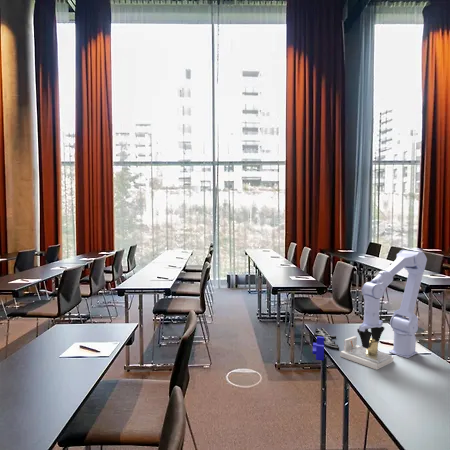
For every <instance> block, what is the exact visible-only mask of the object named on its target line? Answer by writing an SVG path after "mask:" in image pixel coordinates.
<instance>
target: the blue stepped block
mask: <svg viewBox="0 0 450 450" xmlns="http://www.w3.org/2000/svg"><path fill="white" fill-rule="evenodd" d="M312 355H315V360H316V361H324V360H325V356H324V355H325V346H324V337H320V336H317V337H316V342H312Z"/></svg>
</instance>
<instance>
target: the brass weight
mask: <svg viewBox="0 0 450 450" xmlns="http://www.w3.org/2000/svg"><path fill="white" fill-rule="evenodd" d="M378 351H379V343H378V341H376V340H375V339H374V338H372V337H370V341H369V347H368V348H366V354H368V355H371V356H376V355H378Z"/></svg>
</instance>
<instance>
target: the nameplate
mask: <svg viewBox="0 0 450 450" xmlns="http://www.w3.org/2000/svg"><path fill="white" fill-rule="evenodd" d="M320 328H321V329H319V328H317V327H316V328H315V330H314V332H315V333H313V336H314V337H316V338H317V336H320V337H324V348H327V349H329V350H334V351H340V346H339V345H338V344H336V341H335V340H336V339H337V336H336V335H331V334H330V333H329V331H327V330H326V329H325V327H320Z"/></svg>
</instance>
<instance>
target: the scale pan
mask: <svg viewBox="0 0 450 450" xmlns="http://www.w3.org/2000/svg"><path fill="white" fill-rule="evenodd" d="M359 346H360V347H358V348H355V349H353V350H350V351H349V353H351V354H354V355H356V356H359V357H362V358H365V359H368V360H371V361H374V362H377V363H381V362H383V361H385V360H387V359H389V358H391V357H392V354H389V353H385V352H382V351H380V350H378V355H376V356H371V355H368V354H366V348H364V347H363V346H362V345H359Z"/></svg>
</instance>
